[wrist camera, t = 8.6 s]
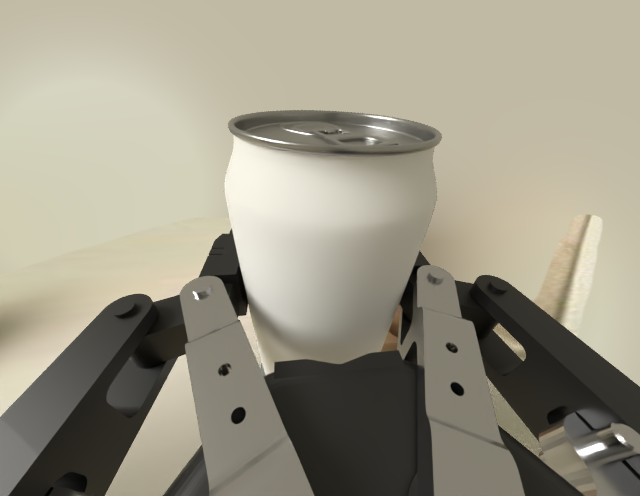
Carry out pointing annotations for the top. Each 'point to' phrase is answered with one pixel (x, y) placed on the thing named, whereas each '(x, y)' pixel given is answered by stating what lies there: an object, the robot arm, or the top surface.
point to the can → (327, 226)
